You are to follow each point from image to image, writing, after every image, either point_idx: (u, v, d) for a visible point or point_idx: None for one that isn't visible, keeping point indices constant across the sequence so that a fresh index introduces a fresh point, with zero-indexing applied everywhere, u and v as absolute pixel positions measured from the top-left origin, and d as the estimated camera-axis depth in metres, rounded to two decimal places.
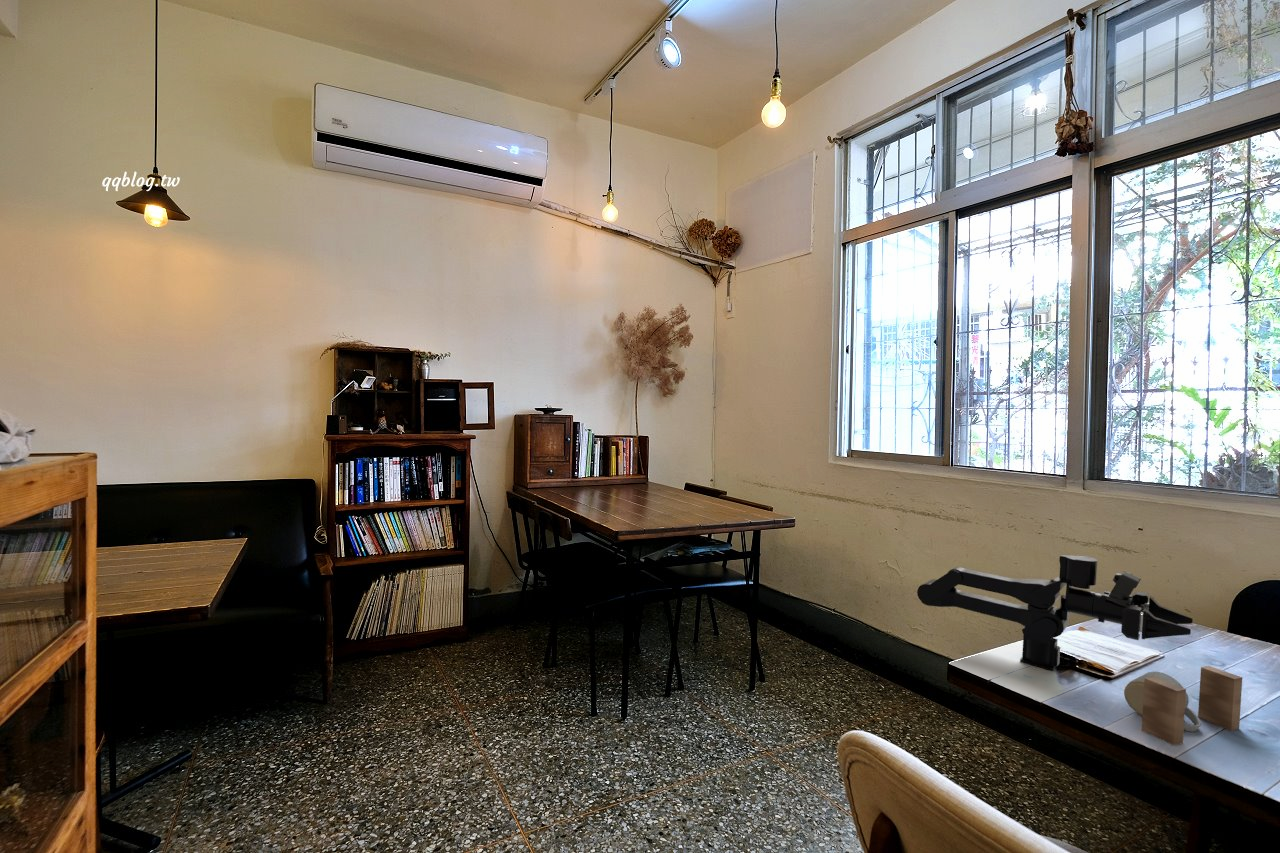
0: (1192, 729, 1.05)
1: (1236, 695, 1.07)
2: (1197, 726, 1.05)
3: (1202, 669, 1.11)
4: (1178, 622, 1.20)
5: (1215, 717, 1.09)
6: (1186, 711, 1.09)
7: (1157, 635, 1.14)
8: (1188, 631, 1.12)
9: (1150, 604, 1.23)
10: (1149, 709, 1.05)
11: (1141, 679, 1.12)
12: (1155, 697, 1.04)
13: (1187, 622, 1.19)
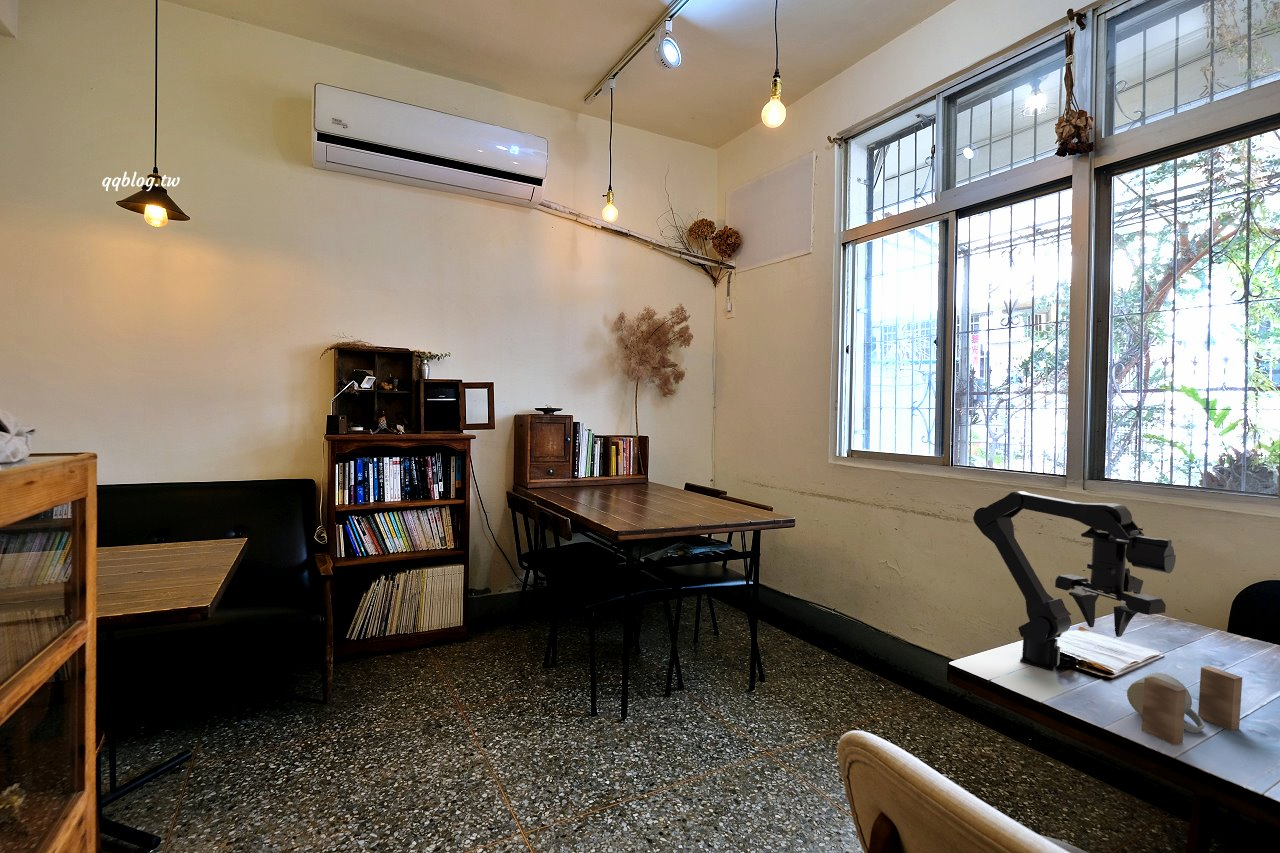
0: (1195, 730, 1.05)
1: (1236, 695, 1.07)
2: (1201, 727, 1.05)
3: (1202, 669, 1.11)
4: (1089, 618, 1.25)
5: (1215, 717, 1.09)
6: (1189, 712, 1.09)
7: (1122, 618, 1.18)
8: (1120, 635, 1.20)
9: (1095, 596, 1.26)
10: (1149, 709, 1.05)
11: None
12: (1155, 697, 1.04)
13: (1090, 624, 1.25)
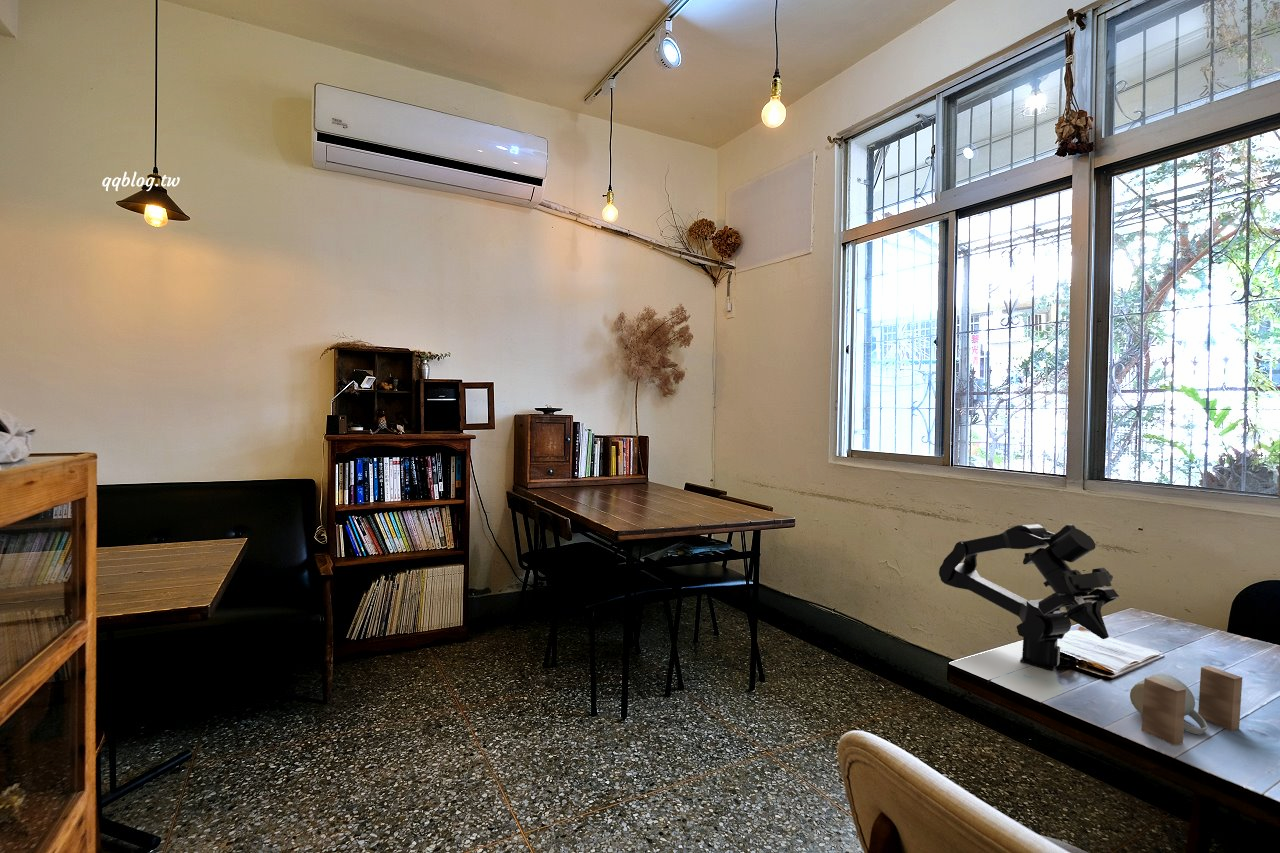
0: (1199, 732, 1.04)
1: (1236, 695, 1.07)
2: (1204, 729, 1.04)
3: (1202, 669, 1.11)
4: None
5: (1215, 717, 1.09)
6: (1193, 714, 1.08)
7: (1077, 621, 1.24)
8: (1103, 637, 1.20)
9: (1091, 605, 1.24)
10: (1149, 709, 1.05)
11: None
12: (1155, 697, 1.04)
13: None
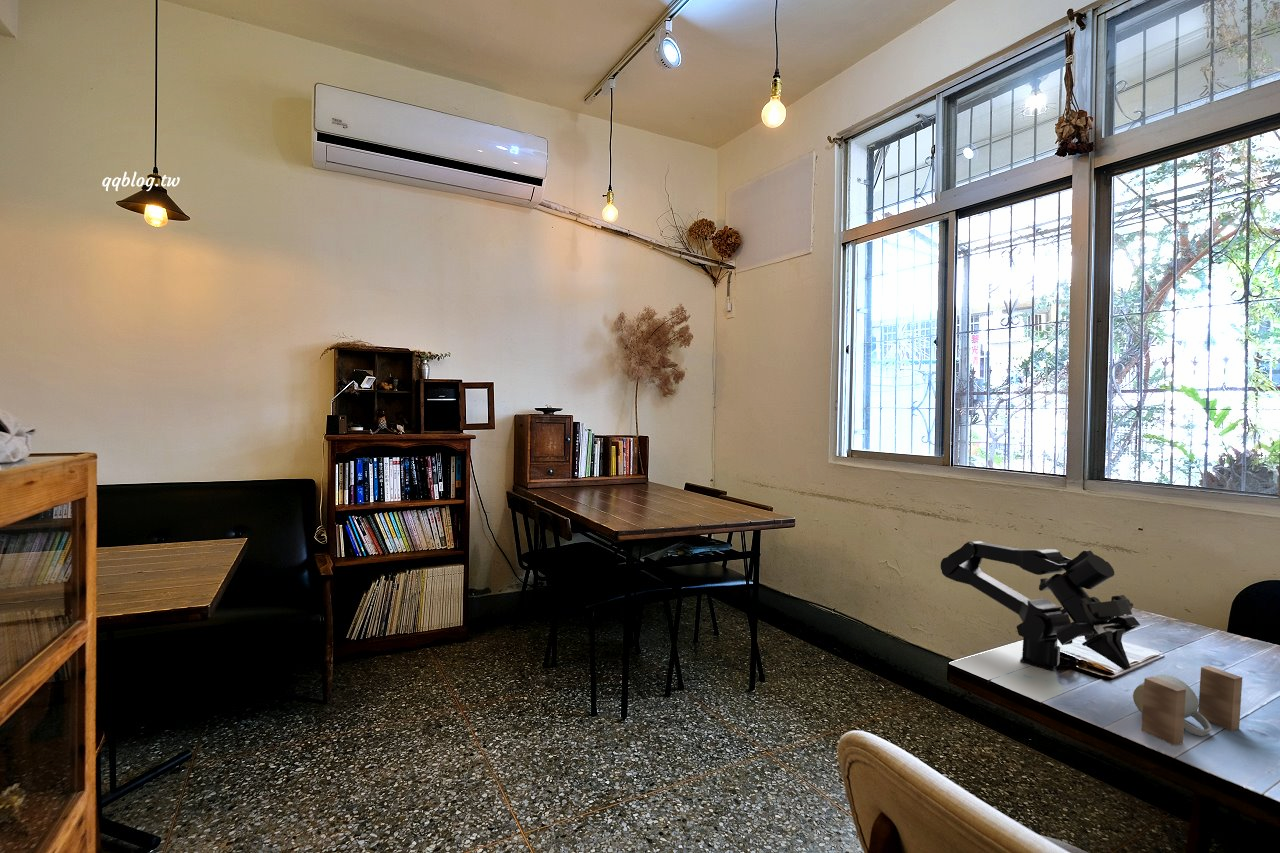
0: (1202, 733, 1.04)
1: (1236, 695, 1.07)
2: (1207, 730, 1.04)
3: (1202, 669, 1.11)
4: None
5: (1215, 717, 1.09)
6: (1196, 715, 1.08)
7: (1097, 651, 1.20)
8: (1125, 667, 1.16)
9: (1111, 634, 1.20)
10: (1149, 709, 1.05)
11: None
12: (1155, 697, 1.04)
13: None
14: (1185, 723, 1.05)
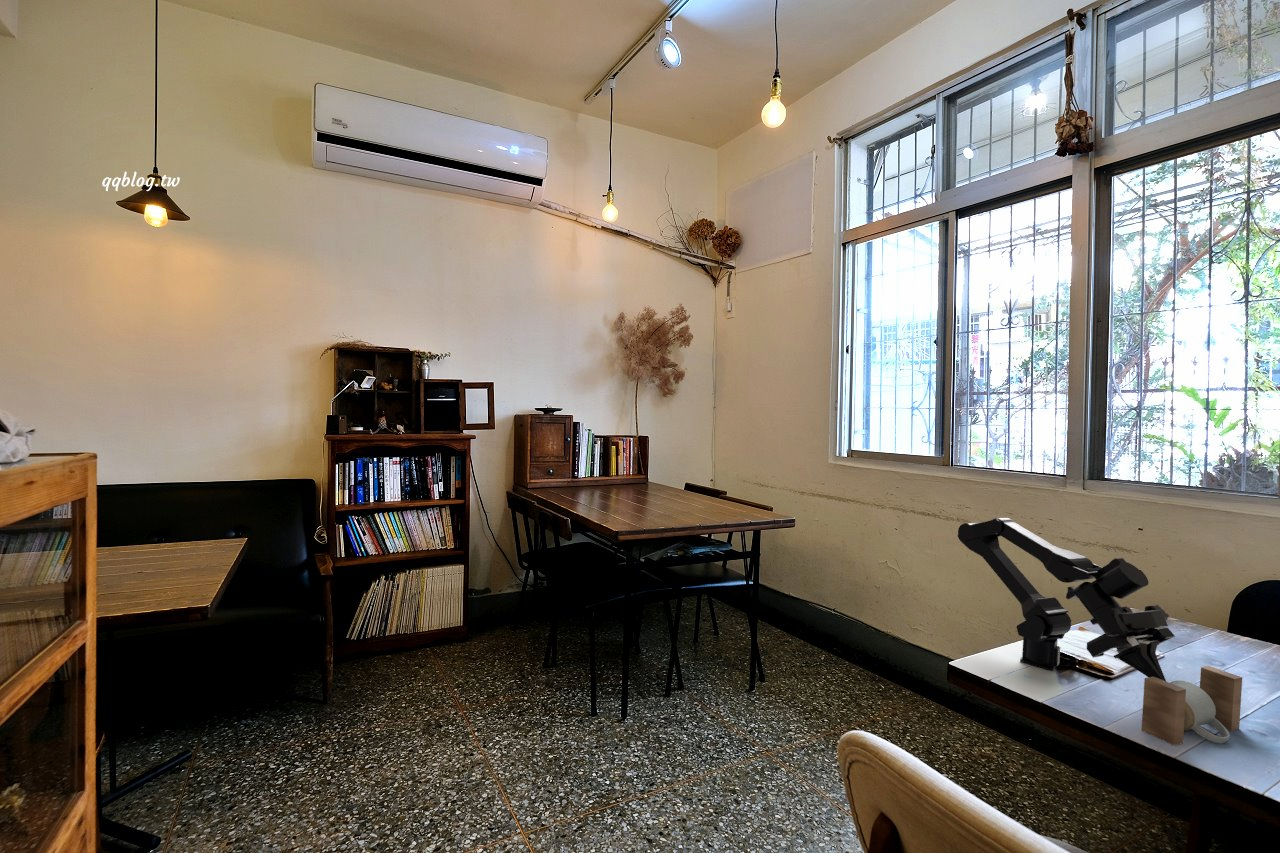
0: (1221, 741, 1.02)
1: (1236, 695, 1.07)
2: (1226, 738, 1.02)
3: (1202, 669, 1.11)
4: None
5: (1215, 717, 1.09)
6: (1213, 722, 1.05)
7: (1130, 664, 1.14)
8: None
9: None
10: (1149, 709, 1.05)
11: None
12: (1155, 697, 1.04)
13: None
14: (1203, 730, 1.03)
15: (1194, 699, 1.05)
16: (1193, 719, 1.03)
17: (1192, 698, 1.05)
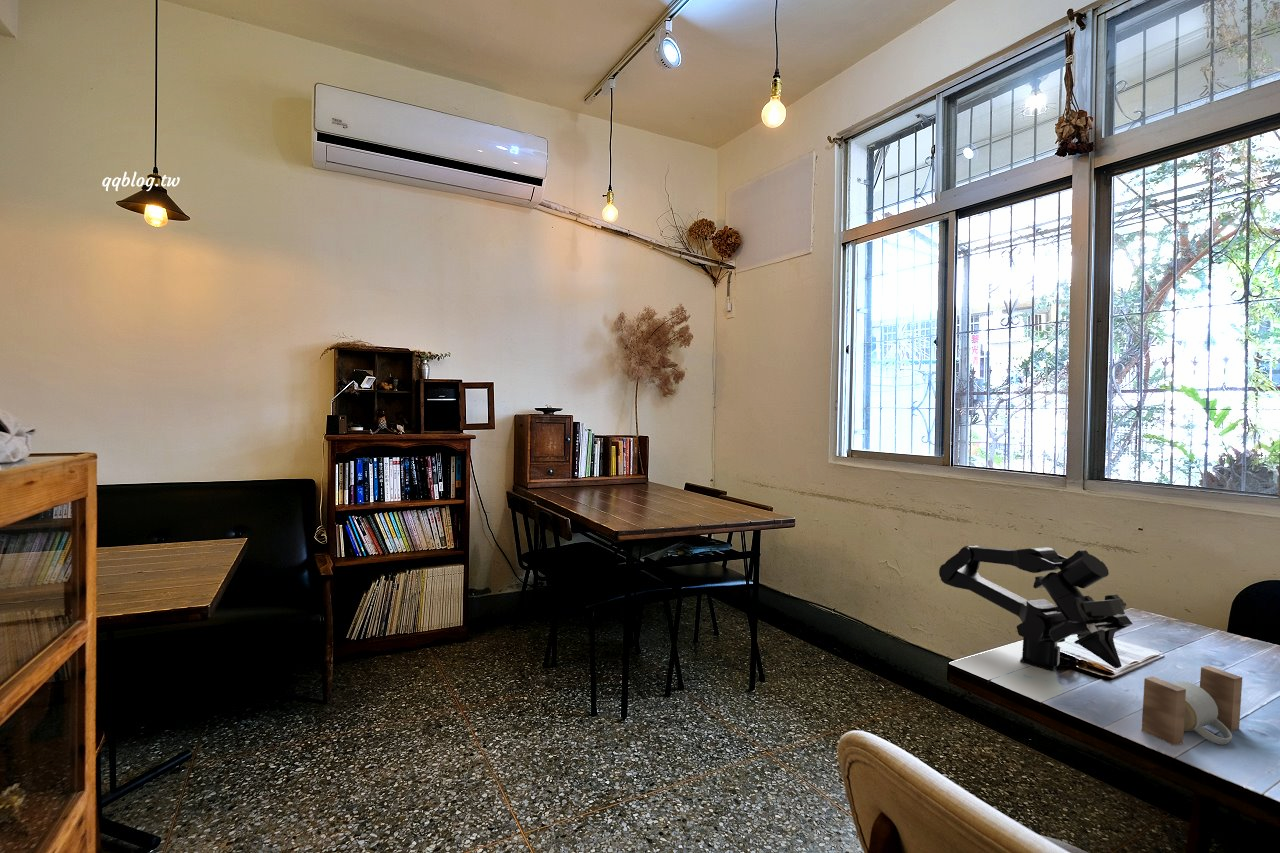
0: (1223, 742, 1.01)
1: (1236, 695, 1.07)
2: (1228, 739, 1.01)
3: (1202, 669, 1.11)
4: None
5: None
6: (1216, 723, 1.05)
7: (1089, 649, 1.22)
8: (1116, 666, 1.18)
9: None
10: (1149, 709, 1.05)
11: None
12: (1155, 697, 1.04)
13: None
14: (1205, 731, 1.02)
15: (1196, 700, 1.05)
16: (1196, 720, 1.03)
17: (1194, 699, 1.05)
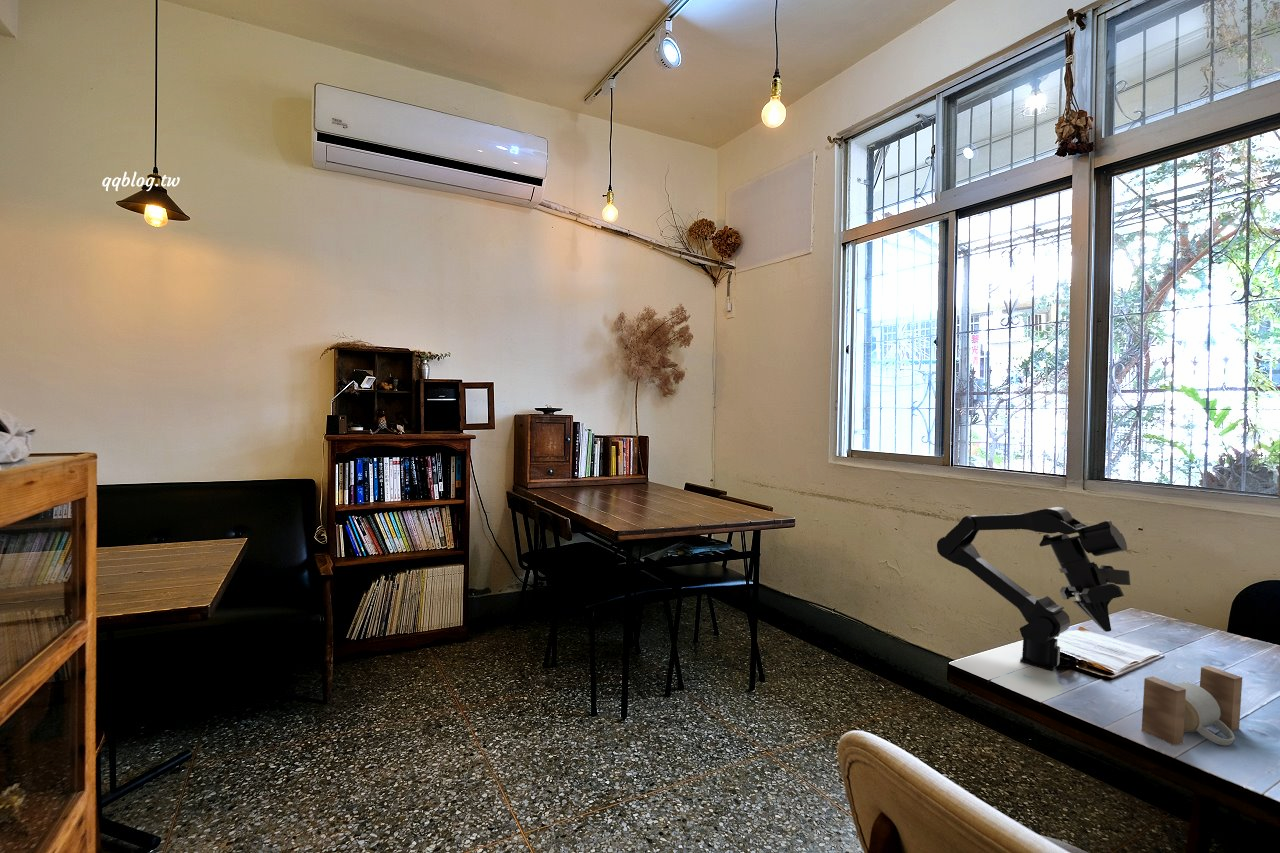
0: (1226, 743, 1.01)
1: (1236, 695, 1.07)
2: (1231, 740, 1.01)
3: (1202, 669, 1.11)
4: None
5: None
6: (1218, 724, 1.05)
7: (1091, 612, 1.24)
8: (1108, 630, 1.23)
9: None
10: (1149, 709, 1.05)
11: None
12: (1155, 697, 1.04)
13: (1104, 628, 1.24)
14: (1208, 732, 1.02)
15: (1198, 700, 1.05)
16: (1198, 721, 1.03)
17: (1196, 699, 1.05)
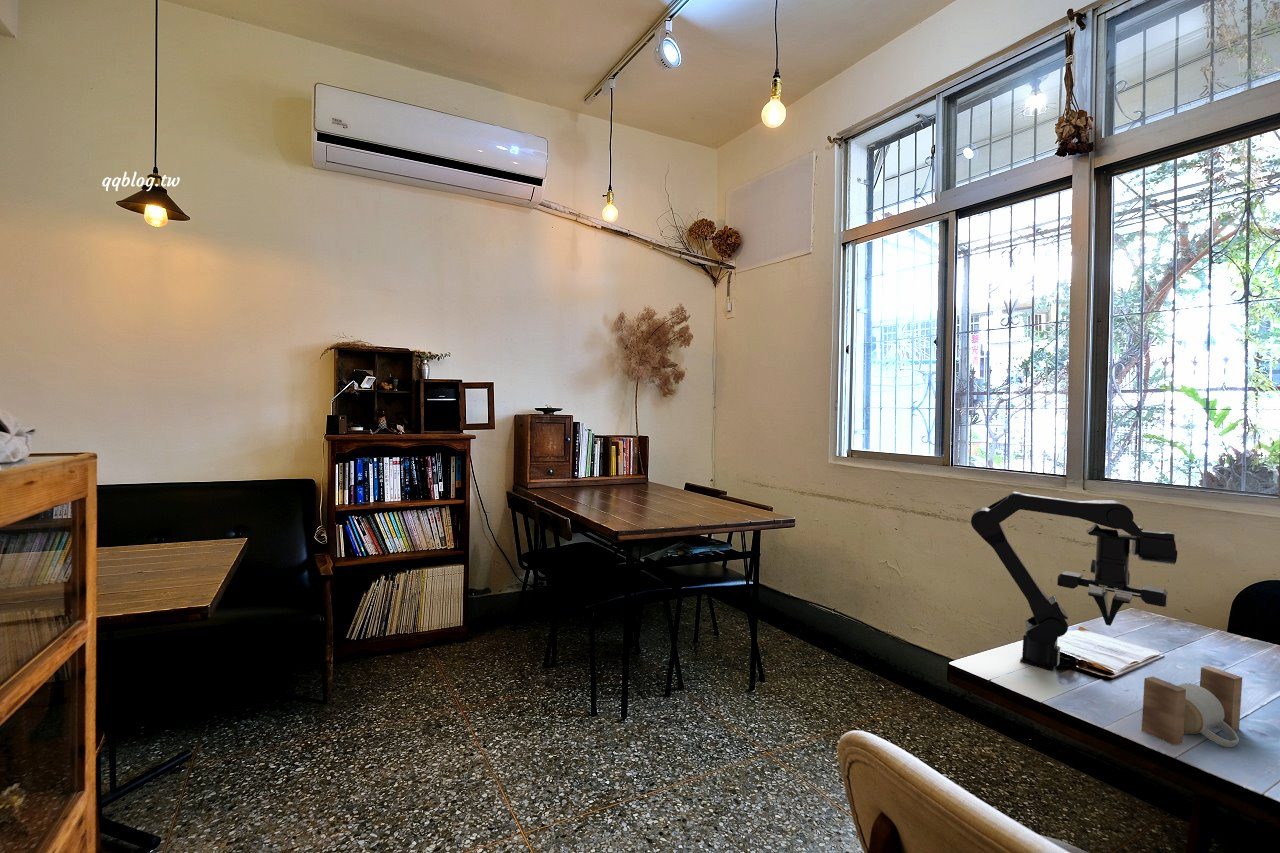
0: (1230, 744, 1.01)
1: (1236, 695, 1.07)
2: (1235, 741, 1.01)
3: (1202, 669, 1.11)
4: (1107, 616, 1.26)
5: None
6: (1222, 725, 1.04)
7: None
8: None
9: (1107, 593, 1.28)
10: (1149, 709, 1.05)
11: None
12: (1155, 697, 1.04)
13: (1107, 622, 1.27)
14: (1212, 734, 1.02)
15: (1202, 702, 1.04)
16: (1202, 722, 1.02)
17: (1200, 701, 1.04)
